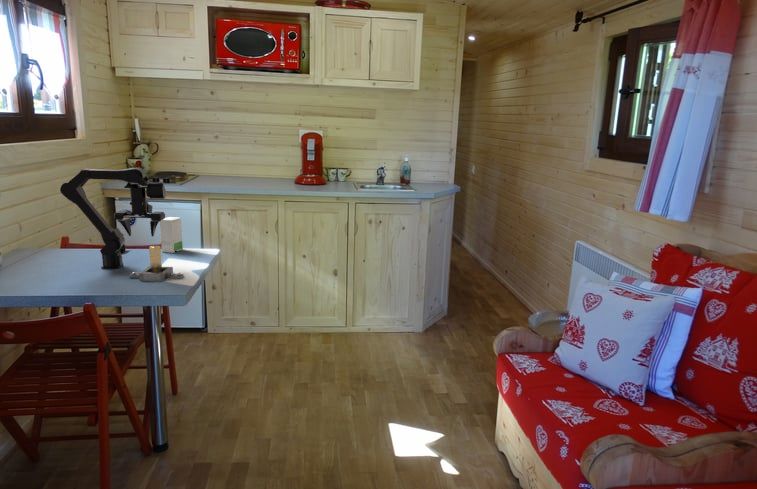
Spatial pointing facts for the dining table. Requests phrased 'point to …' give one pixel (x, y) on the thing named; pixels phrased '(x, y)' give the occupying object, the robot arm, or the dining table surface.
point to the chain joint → (156, 275)
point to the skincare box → (171, 234)
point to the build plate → (123, 249)
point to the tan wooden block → (155, 259)
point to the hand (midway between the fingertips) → (141, 236)
